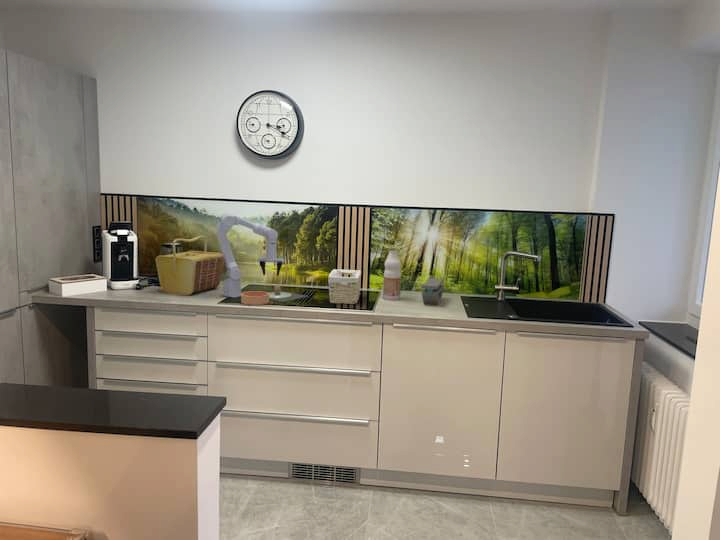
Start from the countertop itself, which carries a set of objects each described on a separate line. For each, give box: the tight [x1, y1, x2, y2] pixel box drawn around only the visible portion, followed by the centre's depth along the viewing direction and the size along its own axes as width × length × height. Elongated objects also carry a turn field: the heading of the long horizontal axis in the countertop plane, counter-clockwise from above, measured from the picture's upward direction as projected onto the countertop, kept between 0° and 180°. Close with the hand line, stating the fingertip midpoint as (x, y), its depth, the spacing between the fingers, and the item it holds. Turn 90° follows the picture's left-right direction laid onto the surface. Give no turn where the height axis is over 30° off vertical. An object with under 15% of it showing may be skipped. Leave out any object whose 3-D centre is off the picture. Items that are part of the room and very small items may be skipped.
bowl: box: [240, 290, 270, 306], centre depth 296 cm, size 14×14×4 cm
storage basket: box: [327, 268, 362, 305], centre depth 309 cm, size 24×16×15 cm
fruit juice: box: [382, 247, 402, 301], centre depth 314 cm, size 9×9×28 cm
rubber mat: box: [268, 290, 309, 304], centre depth 311 cm, size 22×20×1 cm
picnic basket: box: [155, 235, 225, 296], centre depth 320 cm, size 29×26×30 cm
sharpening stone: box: [421, 277, 445, 306], centre depth 310 cm, size 25×8×11 cm, turn 164°
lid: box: [268, 284, 291, 299], centre depth 310 cm, size 15×15×6 cm
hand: (271, 275), depth 318 cm, fingers open, 7 cm apart
